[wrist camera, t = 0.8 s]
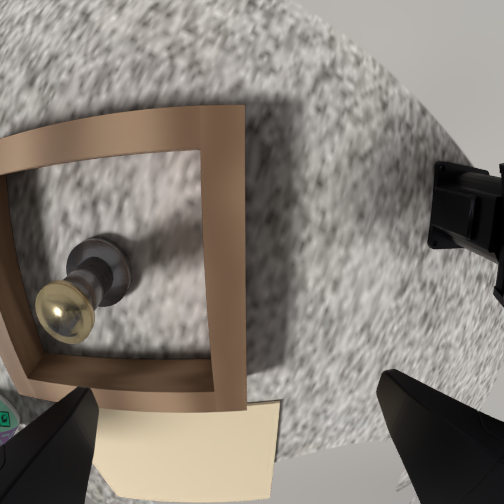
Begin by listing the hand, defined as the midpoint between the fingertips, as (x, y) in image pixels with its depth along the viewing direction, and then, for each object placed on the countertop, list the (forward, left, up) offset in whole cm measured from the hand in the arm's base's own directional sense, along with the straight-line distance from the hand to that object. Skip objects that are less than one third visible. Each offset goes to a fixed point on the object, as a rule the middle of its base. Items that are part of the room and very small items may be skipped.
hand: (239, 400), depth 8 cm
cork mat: (+6, +22, -11) cm, 25 cm away
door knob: (+8, 0, -11) cm, 14 cm away
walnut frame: (+8, 0, -11) cm, 14 cm away
